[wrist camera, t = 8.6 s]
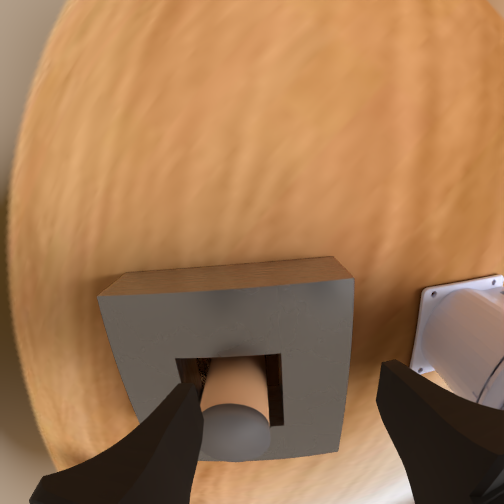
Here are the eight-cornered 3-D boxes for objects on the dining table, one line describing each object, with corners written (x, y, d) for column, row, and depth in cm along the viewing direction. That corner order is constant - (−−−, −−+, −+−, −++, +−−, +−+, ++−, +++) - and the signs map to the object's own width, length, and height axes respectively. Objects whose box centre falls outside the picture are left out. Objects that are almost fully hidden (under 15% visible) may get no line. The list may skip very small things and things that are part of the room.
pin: (270, 342, 21) (277, 421, 13) (259, 385, 22) (262, 465, 14) (214, 334, 21) (195, 410, 13) (208, 377, 21) (192, 455, 14)
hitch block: (333, 256, 19) (354, 278, 15) (327, 413, 22) (338, 451, 18) (126, 272, 20) (96, 296, 15) (167, 421, 23) (155, 457, 18)
